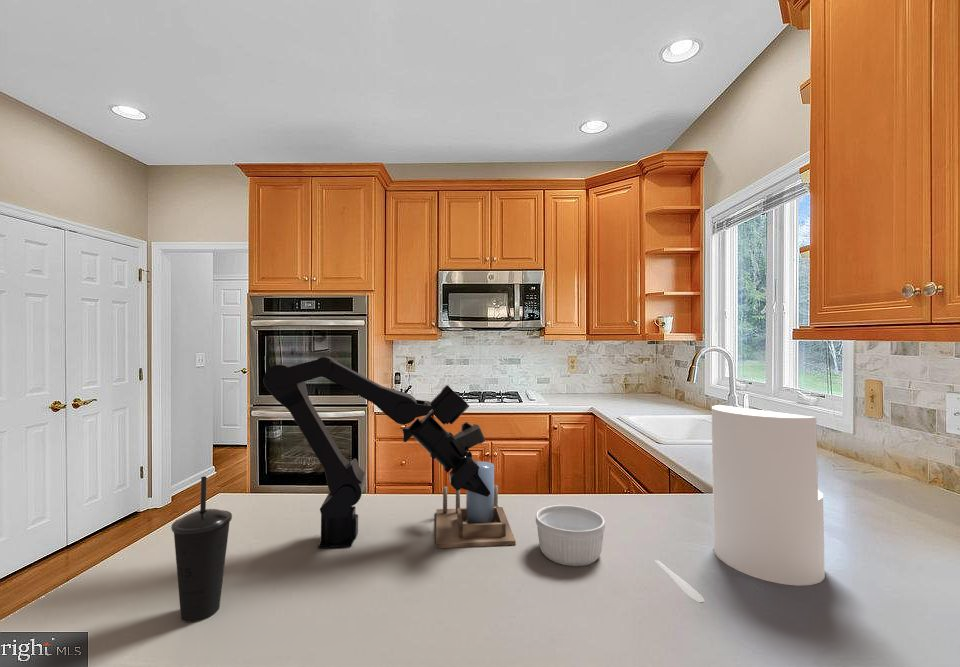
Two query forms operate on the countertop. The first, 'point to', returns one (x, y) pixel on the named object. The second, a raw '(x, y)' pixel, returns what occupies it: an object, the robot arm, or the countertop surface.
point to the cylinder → (767, 495)
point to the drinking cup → (201, 559)
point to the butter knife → (682, 584)
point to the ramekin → (570, 534)
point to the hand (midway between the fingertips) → (486, 489)
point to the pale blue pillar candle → (481, 497)
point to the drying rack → (471, 527)
